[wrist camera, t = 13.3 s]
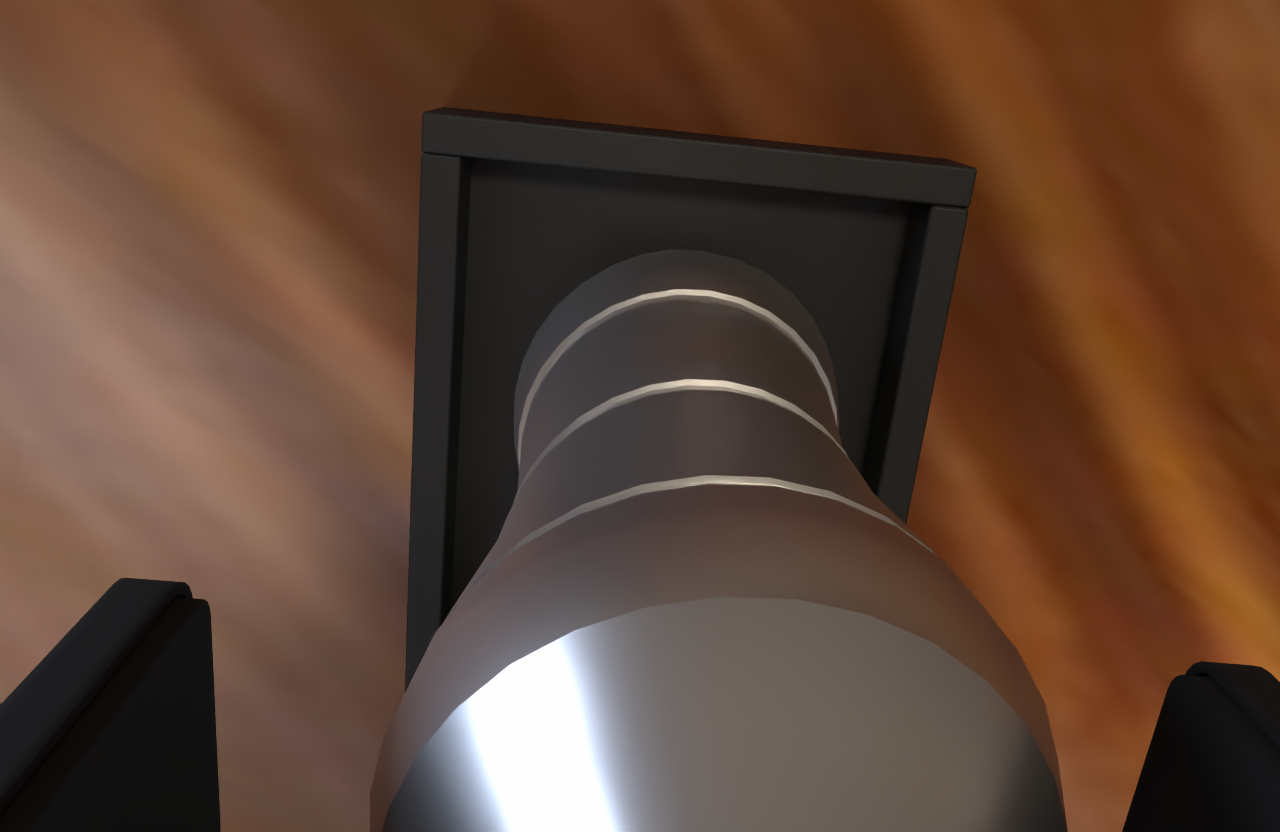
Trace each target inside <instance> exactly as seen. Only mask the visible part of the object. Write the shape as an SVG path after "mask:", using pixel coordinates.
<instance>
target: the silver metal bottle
mask: <svg viewBox="0 0 1280 832" xmlns="http://www.w3.org/2000/svg"><path fill="white" fill-rule="evenodd" d="M514 445H515V451H516V457H517V463H518V469H519V480H518V492H517V494H516V496H515V499H514V502H513V506H512V508H511V510H510V512H509V514H508V516H507V518H506V521H505V523H504V525H503V528H502V530H501V533H500V535H499V538H498V540H497V541H496V543H495V544H494V546H493V547H492V549H491V551H490V552H489V554H488V555H487V557H486V558H485V560H484V561H483V563H482V564H481V566H480V567H479V569H478V570H477V572H476V573H475V575H474V576H473V578H472V579H471V581H470V582H469V584H468V585H467V587H466V588H465V590H464V591H463V593H462V594H461V596H460V597H459V599H458V600H457V602H456V603H455V605H454V606H453V608H452V609H451V611H450V612H449V614H448V616H447V617H446V619H445V621H444V623H443V624H442V625H441V626H440V628H439V629H438V630H437V631H436V633H435V634H434V636H433V638H432V640H431V642H430V644H429V646H428V648H427V650H426V652H425V654H424V656H423V658H422V660H421V662H420V664H419V666H418V668H417V670H416V672H415V674H414V676H413V678H412V680H411V682H410V684H409V686H408V688H407V691H406V693H405V695H404V697H403V699H402V701H401V703H400V705H399V707H398V709H397V711H396V713H395V715H394V717H393V719H392V721H391V723H390V725H389V727H388V729H387V731H386V733H385V735H384V737H383V741H382V745H381V750H380V754H379V758H378V762H377V766H376V771H375V775H374V779H373V783H372V787H371V792H370V832H1068V830H1067V823H1066V816H1065V808H1064V801H1063V793H1062V786H1061V779H1060V771H1059V764H1058V757H1057V753H1056V749H1055V744H1054V740H1053V736H1052V731H1051V727H1050V723H1049V718H1048V714H1047V710H1046V705H1045V702H1044V700H1043V698H1042V696H1041V694H1040V692H1039V690H1038V688H1037V687H1036V685H1035V683H1034V681H1033V679H1032V677H1031V675H1030V673H1029V671H1028V669H1027V667H1026V665H1025V663H1024V661H1023V659H1022V657H1021V655H1020V654H1019V652H1018V650H1017V649H1016V647H1015V646H1014V645H1013V644H1012V643H1011V641H1010V640H1009V639H1008V638H1007V637H1006V635H1005V634H1004V633H1003V632H1002V630H1001V629H1000V628H999V627H998V625H997V624H996V623H995V621H994V620H993V619H992V617H991V616H990V615H989V613H988V612H987V611H986V609H985V608H984V607H983V605H982V604H981V603H980V602H979V601H978V599H977V598H976V597H975V596H974V595H973V594H972V592H971V591H970V590H969V589H968V588H967V587H966V586H965V584H964V583H963V582H962V581H961V580H960V579H959V578H958V576H957V575H956V574H955V573H954V572H953V571H952V569H951V568H950V567H949V566H948V565H947V564H946V563H945V561H943V560H942V559H940V558H939V557H938V556H936V555H935V553H934V552H933V551H932V550H931V549H930V548H929V547H928V546H927V545H926V544H925V543H924V542H923V541H922V540H921V539H920V538H919V537H918V536H917V535H916V534H915V533H914V532H913V531H912V530H911V529H910V528H909V527H907V526H906V525H905V524H904V523H903V522H902V521H901V520H900V519H899V518H898V517H897V516H896V515H895V514H894V513H893V512H892V511H891V510H890V509H889V508H888V507H887V506H886V505H885V504H884V503H883V502H882V501H881V500H880V499H879V498H878V497H877V496H876V495H875V494H874V493H873V492H872V491H871V489H870V488H869V486H868V485H867V483H866V482H865V480H864V479H863V477H862V476H861V474H860V473H859V471H858V470H857V468H856V467H855V465H854V464H853V463H852V462H851V461H850V459H849V458H848V456H847V454H846V452H845V450H844V449H843V446H842V443H841V439H840V435H839V409H838V393H837V387H836V381H835V375H834V370H833V366H832V363H831V359H830V356H829V352H828V348H827V345H826V342H825V340H824V338H823V336H822V334H821V332H820V331H819V329H818V327H817V325H816V323H815V321H814V319H813V317H812V316H811V314H810V313H809V312H808V311H807V310H806V309H805V307H804V306H803V305H802V304H801V303H800V301H799V300H798V299H797V298H796V297H795V296H794V294H793V293H792V292H791V291H789V290H788V289H787V288H785V287H784V286H783V285H782V284H780V283H779V282H778V281H776V280H775V279H774V278H772V277H771V276H770V275H769V274H767V273H765V272H763V271H761V270H759V269H757V268H755V267H753V266H751V265H748V264H746V263H744V262H742V261H740V260H738V259H734V258H730V257H726V256H721V255H717V254H713V253H709V252H705V251H699V250H674V249H671V250H665V251H658V252H652V253H646V254H641V255H638V256H636V257H633V258H630V259H627V260H625V261H622V262H619V263H616V264H614V265H612V266H610V267H608V268H607V269H605V270H603V271H602V272H600V273H598V274H597V275H595V276H593V277H592V278H590V279H588V280H587V281H585V282H583V283H582V284H580V285H579V286H578V287H577V288H576V289H574V290H573V291H572V292H571V293H570V294H569V295H568V296H567V297H566V298H564V299H563V300H562V301H561V302H560V303H559V304H558V305H557V306H556V307H555V308H554V309H553V311H552V312H551V313H550V315H549V316H548V317H547V319H546V320H545V321H544V323H543V324H542V325H541V327H540V328H539V329H538V330H537V332H536V334H535V336H534V338H533V340H532V342H531V344H530V346H529V348H528V350H527V352H526V355H525V357H524V359H523V361H522V365H521V369H520V373H519V377H518V381H517V385H516V389H515V403H514Z"/></svg>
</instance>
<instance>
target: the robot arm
mask: <svg viewBox="0 0 1280 832" xmlns="http://www.w3.org/2000/svg"><path fill="white" fill-rule="evenodd" d="M0 832H220V804H219V782H218V761H217V739H216V717H215V696H214V674H213V652H212V631H211V614H210V607H209V605H208V602H207V601H206V600H205V599H193V597H192V593H191V590H190V588H189V586H188V585H187V584H186V583H185V582H173V581H160V580H147V579H134V578H121V579H119V580H118V581H117V582H115V583H114V584H113V585H112V586H111V587H110V588H109V589H108V590H107V591H106V593H105V594H104V595H103V596H102V597H101V598H100V599H99V600H98V601H97V602H96V603H95V604H94V605H93V606H92V608H91V609H90V610H89V611H88V612H87V613H86V614H85V615H84V616H83V617H82V618H81V619H80V620H79V621H78V622H77V624H76V625H75V626H74V627H73V628H72V629H71V630H70V631H69V632H68V633H67V634H66V635H65V636H64V637H63V639H62V640H61V641H60V642H59V643H58V644H57V645H56V646H55V647H54V648H53V649H52V650H51V651H50V652H49V653H48V655H47V656H46V657H45V658H44V659H43V660H42V661H41V662H40V663H39V664H38V665H37V666H36V667H35V668H34V670H33V671H32V672H31V673H30V674H29V675H28V676H27V677H26V678H25V679H24V680H23V681H22V682H21V683H20V685H19V686H18V687H17V688H16V689H15V690H14V691H13V692H12V693H11V694H10V695H9V696H8V697H7V698H6V699H5V701H4V702H3V703H2V704H1V705H0ZM1122 832H1280V682H1279V681H1278V680H1277V679H1276V678H1275V677H1274V676H1273V675H1272V674H1271V673H1269V672H1268V671H1267V670H1265V669H1264V668H1262V667H1258V666H1252V665H1240V664H1227V663H1214V662H1198V663H1195V664H1193V665H1192V666H1191V667H1190V668H1189V669H1188V670H1187V672H1186V674H1185V675H1180V676H1177V677H1175V678H1174V679H1173V680H1172V681H1171V683H1170V685H1169V688H1168V690H1167V693H1166V696H1165V699H1164V703H1163V706H1162V709H1161V712H1160V715H1159V718H1158V721H1157V725H1156V728H1155V731H1154V734H1153V737H1152V740H1151V743H1150V746H1149V750H1148V753H1147V756H1146V759H1145V762H1144V765H1143V768H1142V771H1141V775H1140V778H1139V781H1138V784H1137V787H1136V790H1135V793H1134V796H1133V800H1132V803H1131V806H1130V809H1129V812H1128V815H1127V818H1126V822H1125V825H1124V828H1123V831H1122Z"/></svg>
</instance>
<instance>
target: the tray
mask: <svg viewBox="0 0 1280 832" xmlns="http://www.w3.org/2000/svg"><path fill="white" fill-rule="evenodd" d="M422 151H423V152H424V153H422V155H421V181H420V214H419V247H418V279H417V312H416V345H415V377H414V410H413V443H412V475H411V508H410V541H409V573H408V606H407V639H406V671H405V693H406V691H407V688H408V686H409V684H410V682H411V680H412V678H413V676H414V674H415V672H416V670H417V668H418V666H419V664H420V662H421V660H422V658H423V656H424V654H425V652H426V650H427V648H428V646H429V644H430V642H431V640H432V638H433V636H434V634H435V633H436V631H437V630H438V629H439V628H440V626H441V625H442V624H443V623H444V621H445V619H446V617H447V616H448V614H449V612H450V611H451V609H452V608H453V606H454V605H455V603H456V602H457V600H458V599H459V597H460V596H461V594H462V593H463V591H464V590H465V588H466V587H467V585H468V584H469V582H470V581H471V579H472V578H473V576H474V575H475V573H476V572H477V570H478V569H479V567H480V566H481V564H482V563H483V561H484V560H485V558H486V557H487V555H488V554H489V552H490V551H491V549H492V547H493V546H494V544H495V543H496V541H497V540H498V538H499V535H500V533H501V530H502V528H503V525H504V523H505V521H506V518H507V516H508V514H509V512H510V510H511V508H512V506H513V502H514V499H515V496H516V494H517V492H518V480H519V469H518V463H517V457H516V451H515V445H514V403H515V389H516V385H517V381H518V377H519V373H520V369H521V365H522V361H523V359H524V357H525V355H526V352H527V350H528V348H529V346H530V344H531V342H532V340H533V338H534V336H535V334H536V332H537V330H538V329H539V328H540V327H541V325H542V324H543V323H544V321H545V320H546V319H547V317H548V316H549V315H550V313H551V312H552V311H553V309H554V308H555V307H556V306H557V305H558V304H559V303H560V302H561V301H562V300H563V299H564V298H566V297H567V296H568V295H569V294H570V293H571V292H572V291H573V290H574V289H576V288H577V287H578V286H579V285H580V284H582V283H583V282H585V281H587V280H588V279H590V278H592V277H593V276H595V275H597V274H598V273H600V272H602V271H603V270H605V269H607V268H608V267H610V266H612V265H614V264H616V263H619V262H622V261H625V260H627V259H630V258H633V257H636V256H638V255H641V254H646V253H652V252H658V251H665V250H671V249H674V250H699V251H705V252H709V253H713V254H717V255H721V256H726V257H730V258H734V259H738V260H740V261H742V262H744V263H746V264H748V265H751V266H753V267H755V268H757V269H759V270H761V271H763V272H765V273H767V274H769V275H770V276H771V277H772V278H774V279H775V280H776V281H778V282H779V283H780V284H782V285H783V286H784V287H785V288H787V289H788V290H789V291H791V292H792V293H793V294H794V296H795V297H796V298H797V299H798V300H799V301H800V303H801V304H802V305H803V306H804V307H805V309H806V310H807V311H808V312H809V313H810V314H811V316H812V317H813V319H814V321H815V323H816V325H817V327H818V329H819V331H820V332H821V334H822V336H823V338H824V340H825V342H826V345H827V348H828V352H829V356H830V359H831V363H832V366H833V370H834V375H835V381H836V387H837V393H838V409H839V435H840V439H841V443H842V446H843V449H844V450H845V452H846V454H847V456H848V458H849V459H850V461H851V462H852V463H853V464H854V465H855V467H856V468H857V470H858V471H859V473H860V474H861V476H862V477H863V479H864V480H865V482H866V483H867V485H868V486H869V488H870V489H871V491H872V492H873V493H874V494H875V495H876V496H877V497H878V498H879V499H880V500H881V501H882V502H883V503H884V504H885V505H886V506H887V507H888V508H889V509H890V510H891V511H892V512H893V513H894V514H895V515H896V516H897V517H898V518H899V519H900V520H901V521H902V522H903V523H904V524H905V525H906V522H907V517H908V512H909V507H910V502H911V497H912V492H913V487H914V482H915V477H916V472H917V467H918V462H919V457H920V452H921V447H922V442H923V437H924V432H925V427H926V422H927V417H928V412H929V407H930V402H931V397H932V392H933V387H934V382H935V377H936V372H937V367H938V362H939V357H940V352H941V347H942V342H943V337H944V332H945V327H946V322H947V317H948V312H949V307H950V302H951V297H952V292H953V287H954V281H955V276H956V271H957V266H958V261H959V256H960V251H961V246H962V241H963V236H964V231H965V226H966V221H967V216H968V209H967V208H966V207H969V206H970V203H971V198H972V193H973V188H974V183H975V178H976V173H977V170H976V168H974V167H971V166H968V165H964V164H961V163H958V162H955V161H951V160H948V159H942V158H932V157H923V156H913V155H903V154H894V153H884V152H874V151H864V150H855V149H845V148H835V147H826V146H816V145H806V144H797V143H787V142H777V141H767V140H758V139H748V138H738V137H729V136H719V135H709V134H699V133H690V132H680V131H670V130H661V129H651V128H641V127H632V126H622V125H612V124H602V123H593V122H583V121H573V120H564V119H554V118H544V117H534V116H525V115H515V114H505V113H496V112H486V111H476V110H467V109H457V108H447V107H442V108H438V109H434V110H429V111H425V112H424V113H423V120H422Z"/></svg>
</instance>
